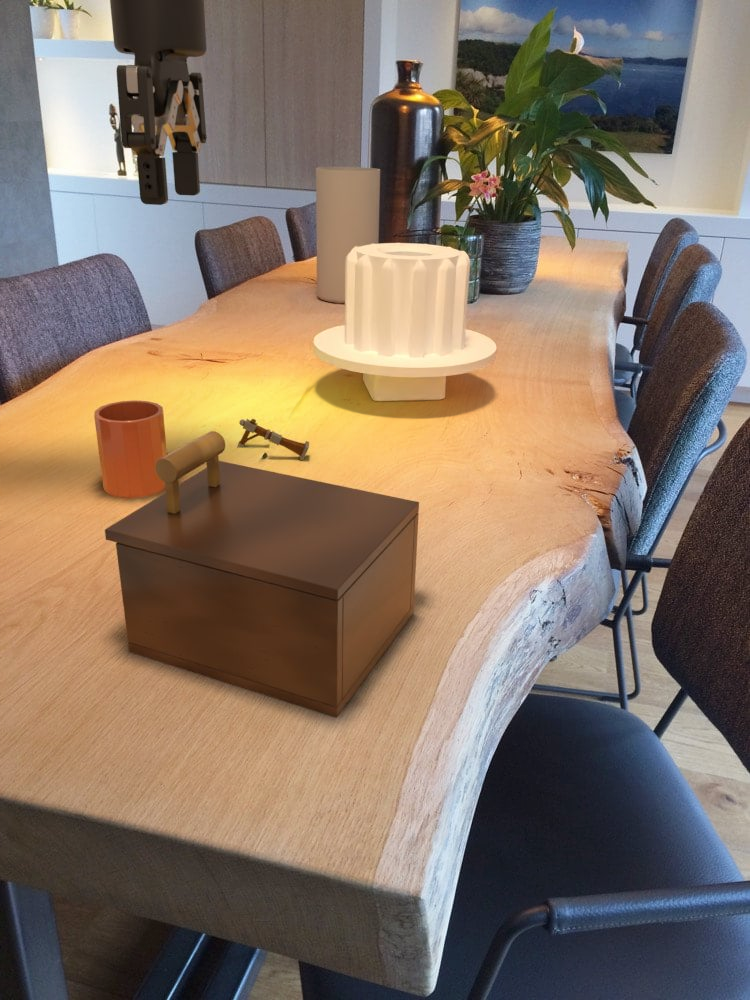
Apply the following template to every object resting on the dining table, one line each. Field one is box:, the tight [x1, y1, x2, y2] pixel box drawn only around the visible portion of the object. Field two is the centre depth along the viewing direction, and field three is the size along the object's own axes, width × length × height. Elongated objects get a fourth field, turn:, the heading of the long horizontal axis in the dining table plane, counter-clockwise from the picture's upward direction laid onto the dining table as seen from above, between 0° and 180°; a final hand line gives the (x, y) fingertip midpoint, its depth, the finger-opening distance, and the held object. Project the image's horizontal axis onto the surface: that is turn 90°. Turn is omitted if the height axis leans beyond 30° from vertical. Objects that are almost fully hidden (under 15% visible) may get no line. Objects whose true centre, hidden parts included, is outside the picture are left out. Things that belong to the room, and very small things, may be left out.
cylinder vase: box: [315, 166, 381, 304], centre depth 167 cm, size 12×12×25 cm
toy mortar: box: [236, 418, 310, 462], centre depth 92 cm, size 2×8×4 cm, turn 93°
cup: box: [93, 399, 168, 499], centre depth 81 cm, size 6×6×9 cm
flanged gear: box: [313, 242, 497, 402], centre depth 112 cm, size 25×25×19 cm
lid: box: [104, 430, 420, 600], centre depth 57 cm, size 17×14×5 cm
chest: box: [115, 512, 420, 718], centre depth 60 cm, size 17×14×9 cm
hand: (172, 199), depth 74 cm, fingers open, 8 cm apart
